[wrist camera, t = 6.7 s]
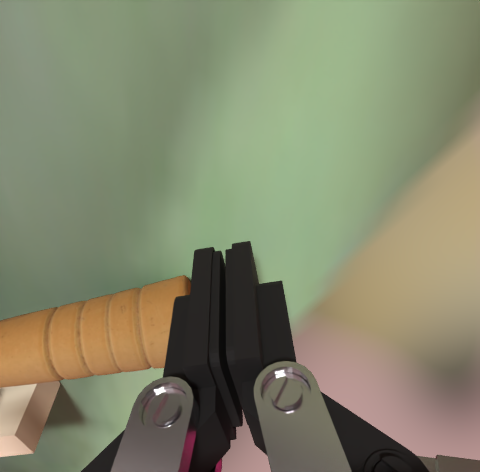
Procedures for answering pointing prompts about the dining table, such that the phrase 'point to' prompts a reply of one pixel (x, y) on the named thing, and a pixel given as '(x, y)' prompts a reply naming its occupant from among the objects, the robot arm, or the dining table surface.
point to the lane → (24, 416)
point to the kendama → (90, 336)
